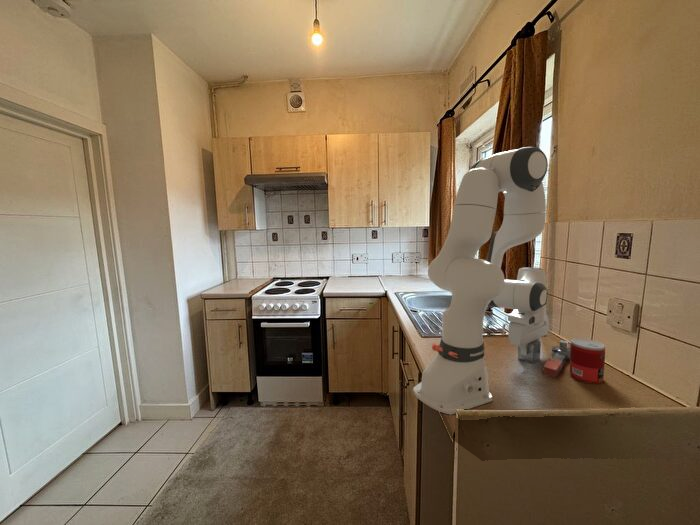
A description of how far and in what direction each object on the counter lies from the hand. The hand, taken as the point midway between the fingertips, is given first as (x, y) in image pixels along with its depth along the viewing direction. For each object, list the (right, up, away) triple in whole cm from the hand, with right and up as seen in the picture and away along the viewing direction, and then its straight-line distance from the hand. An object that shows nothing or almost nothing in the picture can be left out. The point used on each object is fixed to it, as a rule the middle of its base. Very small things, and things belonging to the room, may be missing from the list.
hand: (529, 351), depth 99 cm
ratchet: (+7, -3, -4) cm, 9 cm away
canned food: (+9, -4, -13) cm, 16 cm away
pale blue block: (0, -3, 0) cm, 3 cm away
